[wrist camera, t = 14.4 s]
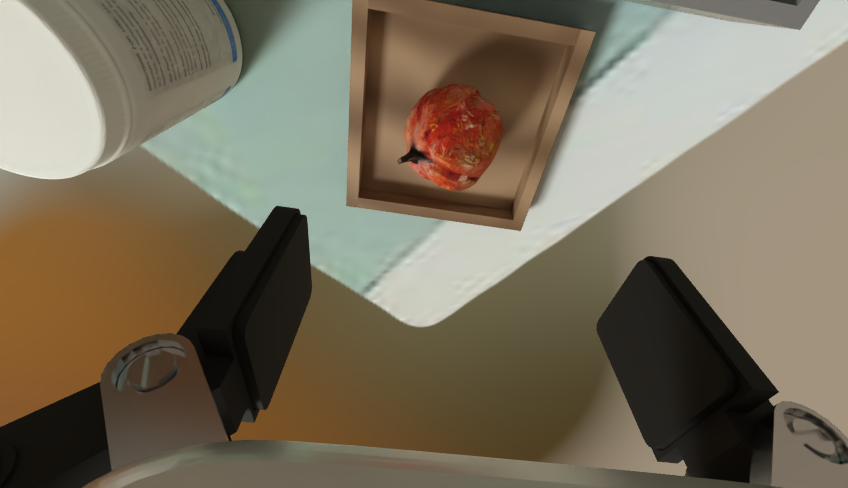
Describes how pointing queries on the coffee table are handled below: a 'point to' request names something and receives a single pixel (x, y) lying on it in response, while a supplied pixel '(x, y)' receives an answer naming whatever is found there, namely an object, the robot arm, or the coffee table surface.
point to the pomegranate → (452, 136)
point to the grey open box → (744, 10)
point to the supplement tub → (105, 77)
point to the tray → (456, 64)
